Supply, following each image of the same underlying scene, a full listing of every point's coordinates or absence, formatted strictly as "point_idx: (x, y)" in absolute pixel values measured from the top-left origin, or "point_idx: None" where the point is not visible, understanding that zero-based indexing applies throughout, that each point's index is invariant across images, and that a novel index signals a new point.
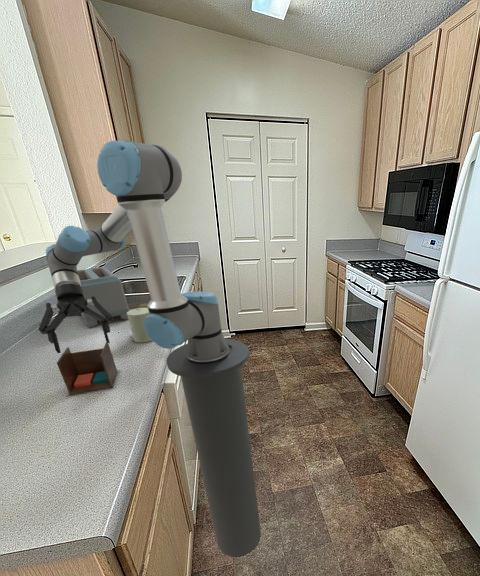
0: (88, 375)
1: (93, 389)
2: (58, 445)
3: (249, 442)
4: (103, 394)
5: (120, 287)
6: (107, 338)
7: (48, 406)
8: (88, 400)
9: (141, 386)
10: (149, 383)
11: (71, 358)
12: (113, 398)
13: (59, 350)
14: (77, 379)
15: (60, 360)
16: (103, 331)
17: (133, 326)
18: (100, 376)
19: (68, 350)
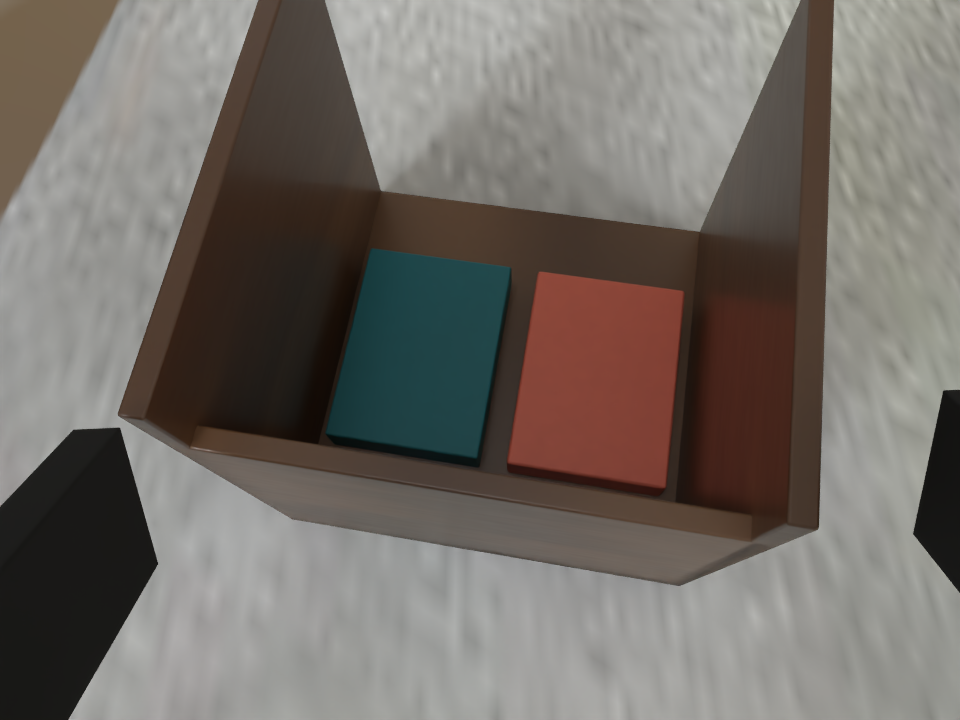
0: (557, 423)
1: (515, 211)
2: None
3: None
4: (443, 134)
5: None
6: (73, 440)
7: (846, 150)
8: (552, 99)
9: (157, 118)
10: (90, 135)
11: (735, 488)
12: (377, 46)
13: (933, 472)
14: (662, 384)
15: (803, 48)
16: (14, 546)
17: None
18: (439, 332)
19: (778, 461)
